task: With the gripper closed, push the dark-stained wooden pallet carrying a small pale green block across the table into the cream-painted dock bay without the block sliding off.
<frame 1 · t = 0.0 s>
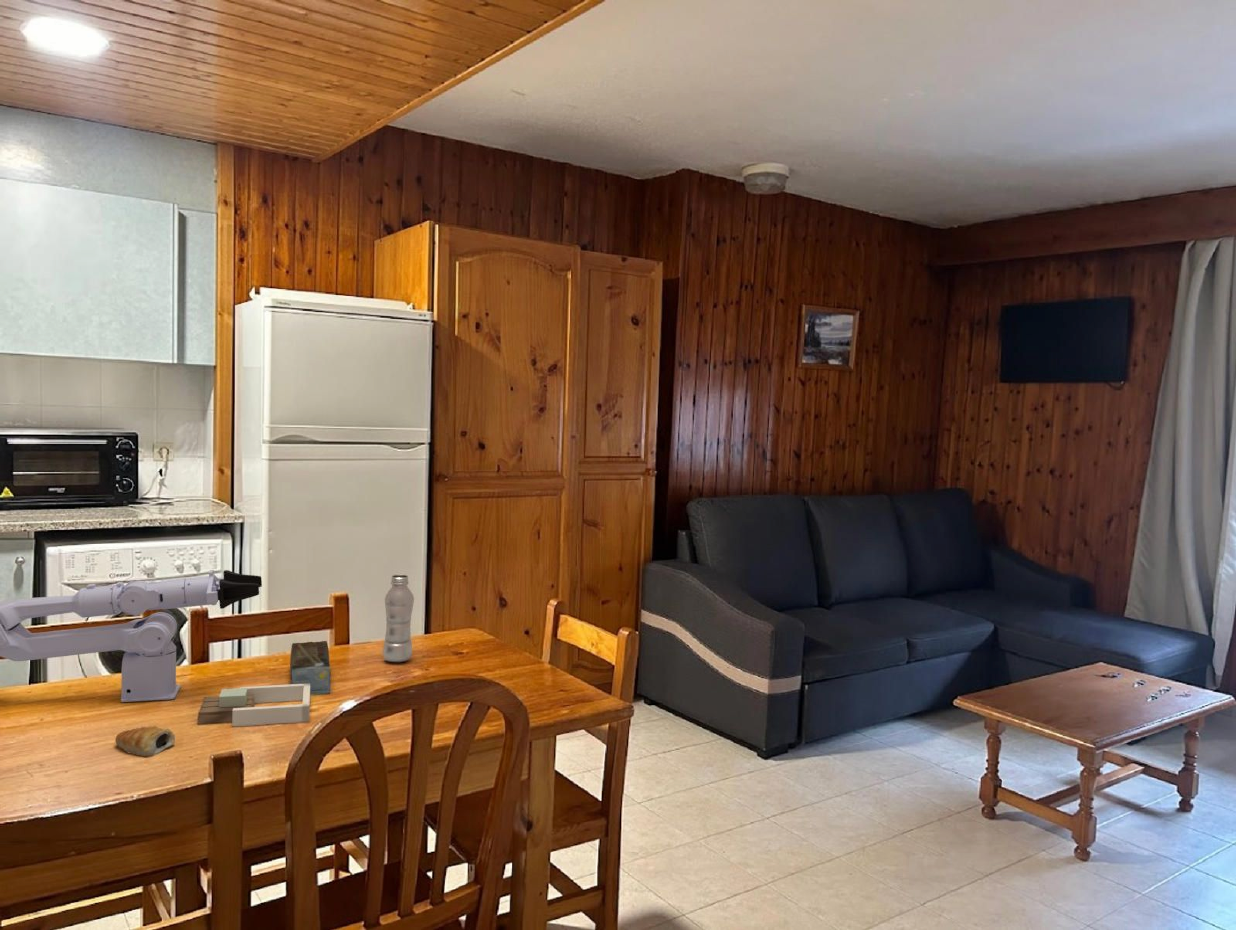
hand: (260, 585, 181), 22 cm above the table, tool horizontal, fingers open, 7 cm apart
pale green block: (233, 702, 168), point 2 cm above the table, touching pallet
beverage carton: (310, 682, 190), on the table
pallet: (226, 717, 168), on the table, touching pale green block
dock: (272, 711, 171), on the table
plastic bottle: (397, 662, 206), on the table
pastry: (144, 750, 151), on the table
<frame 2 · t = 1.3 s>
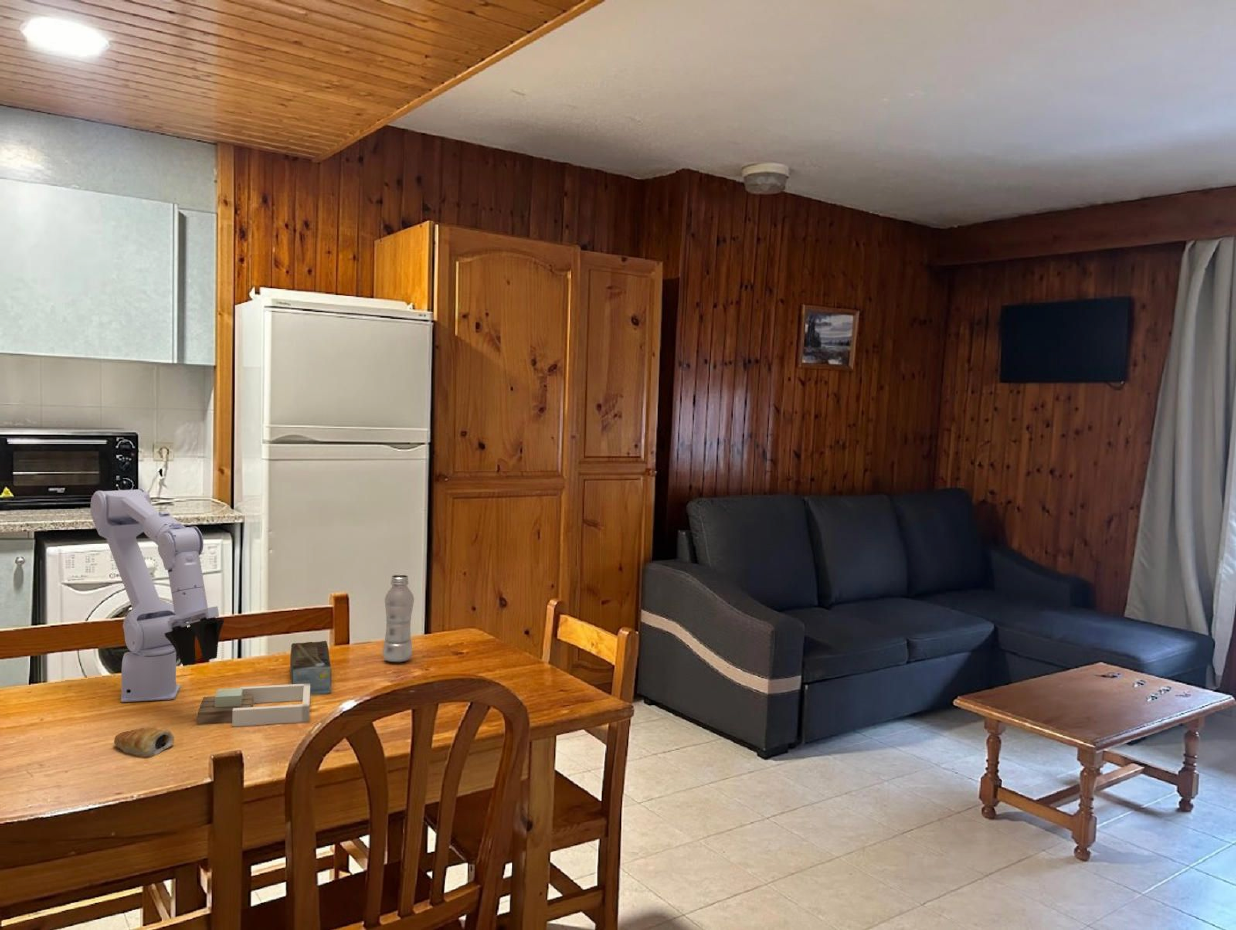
hand: (199, 662, 166), 10 cm above the table, tool tilted 20°, fingers open, 7 cm apart
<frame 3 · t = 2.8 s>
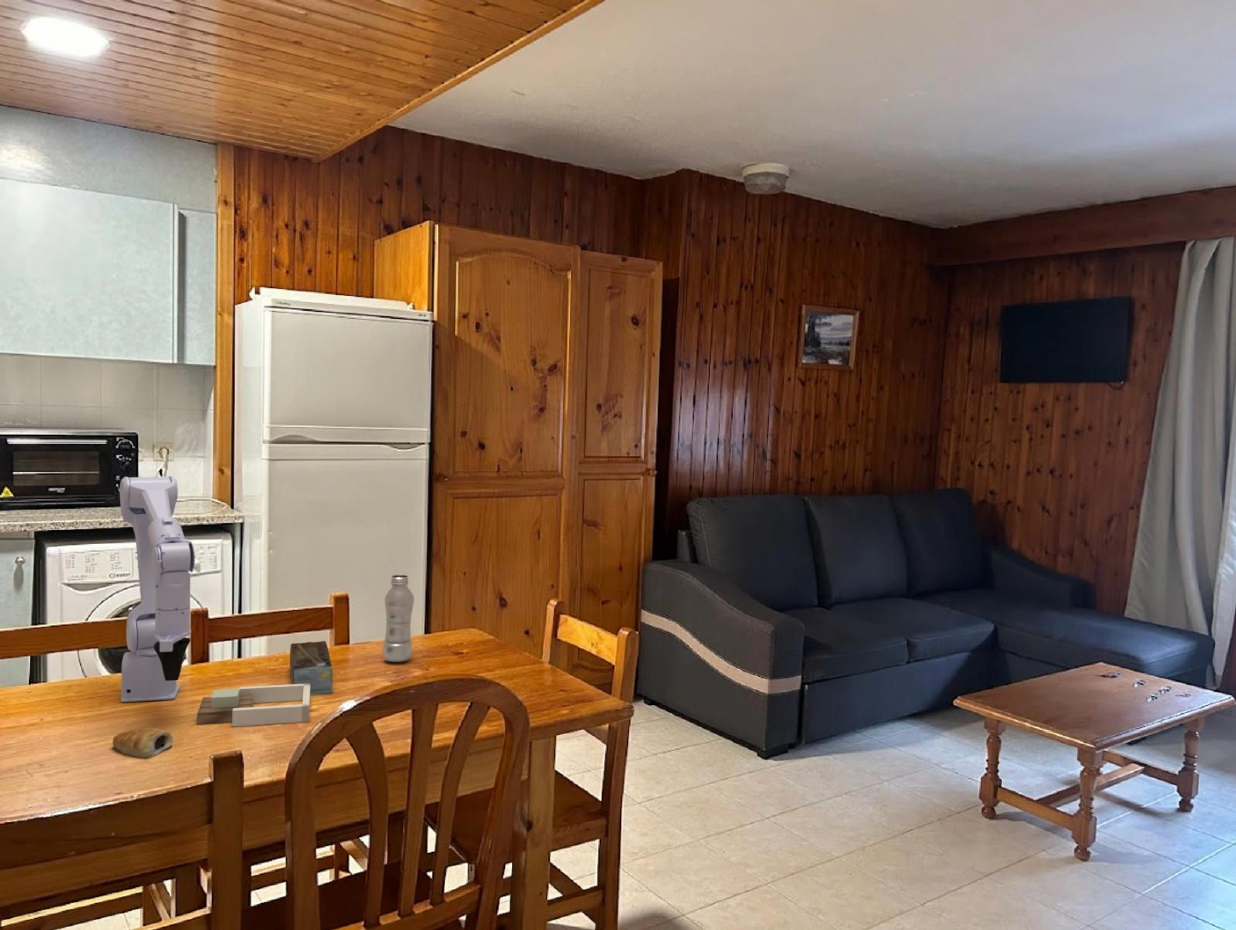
hand: (172, 679, 164), 7 cm above the table, tool pointing down, fingers closed
pale green block: (225, 703, 168), point 2 cm above the table
pallet: (225, 717, 168), on the table
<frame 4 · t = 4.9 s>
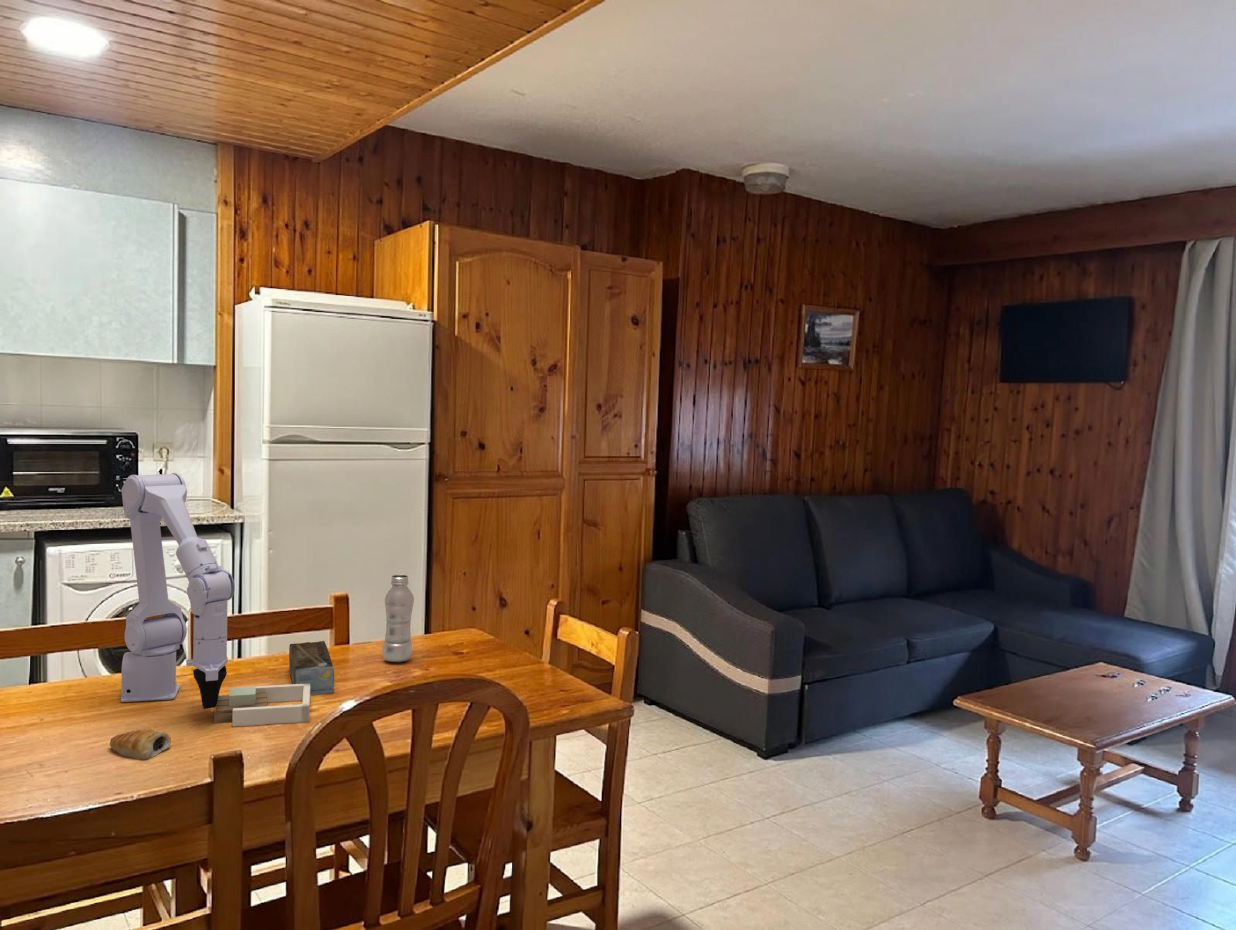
hand: (209, 707, 167), 2 cm above the table, tool pointing down, fingers closed
pale green block: (242, 701, 169), point 2 cm above the table, touching pallet
pallet: (241, 715, 169), on the table, touching pale green block
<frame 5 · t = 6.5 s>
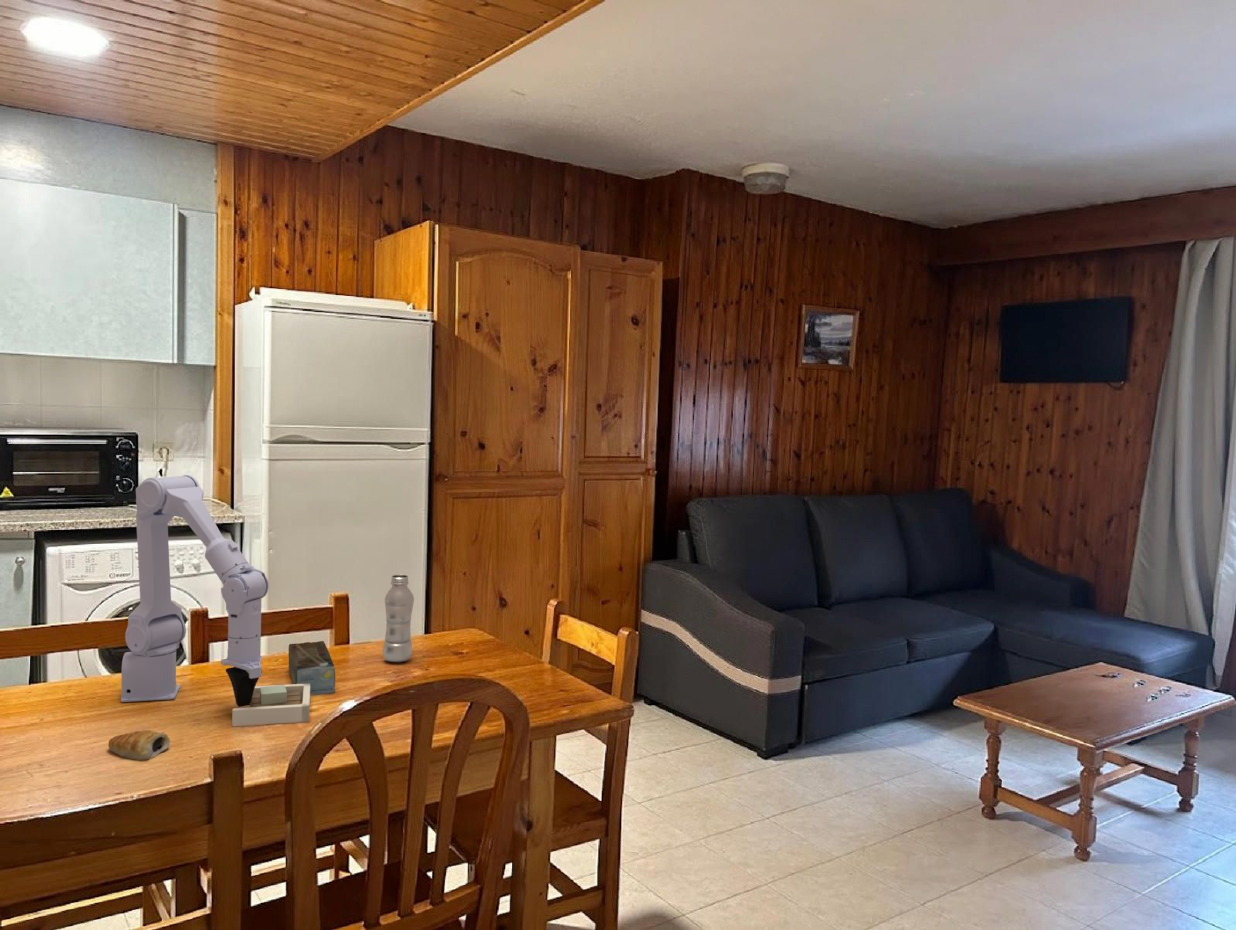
hand: (243, 705, 169), 2 cm above the table, tool pointing down, fingers closed
pale green block: (273, 699, 171), point 2 cm above the table, touching pallet
pallet: (275, 713, 171), on the table, touching pale green block
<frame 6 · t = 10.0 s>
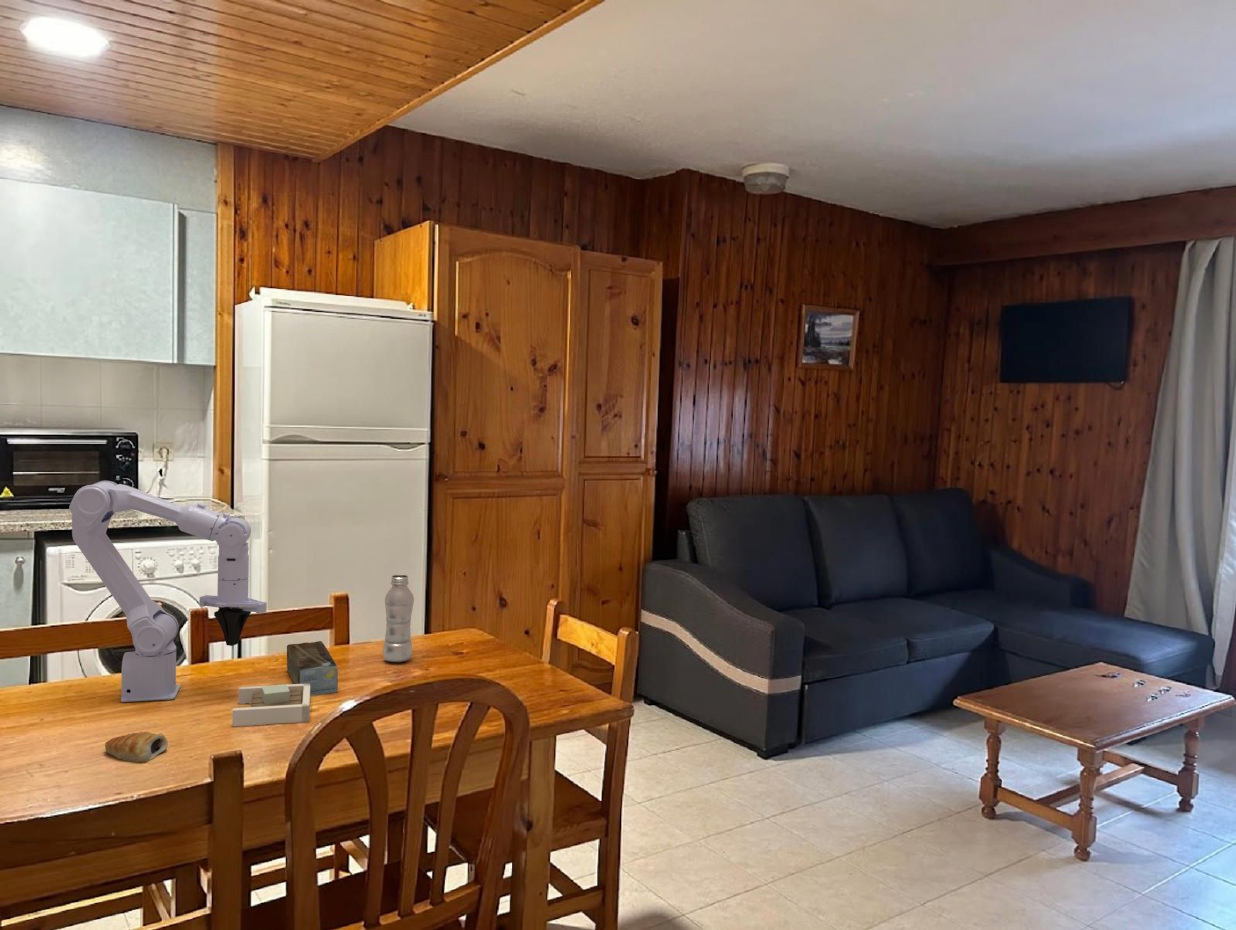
hand: (232, 644, 179), 10 cm above the table, tool pointing down, fingers closed
at the end: pallet 1.4 cm off-centre on the dock, point -0.6 cm above the dock's base; pale green block 0.1 cm off-centre on the pallet, point 2.8 cm above the pallet's base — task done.
